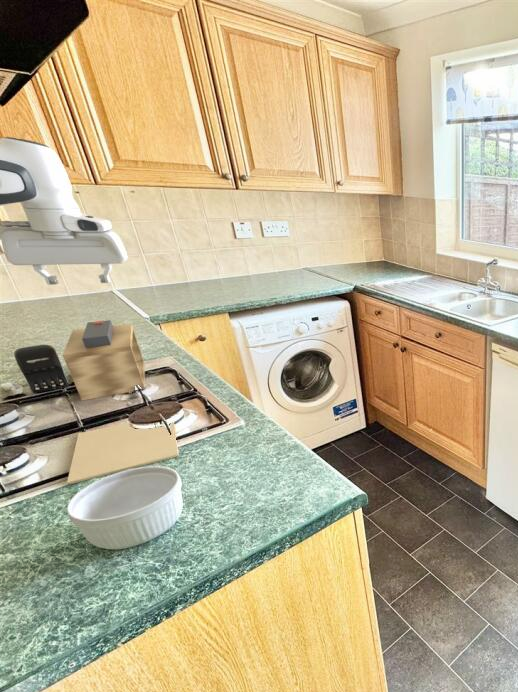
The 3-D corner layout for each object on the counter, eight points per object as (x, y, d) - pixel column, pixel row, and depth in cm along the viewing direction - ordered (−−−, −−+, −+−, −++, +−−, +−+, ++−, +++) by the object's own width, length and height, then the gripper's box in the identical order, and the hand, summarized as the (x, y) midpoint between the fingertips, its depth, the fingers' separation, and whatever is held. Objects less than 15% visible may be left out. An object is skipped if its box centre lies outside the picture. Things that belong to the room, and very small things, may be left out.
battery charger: (31, 395, 102) (10, 352, 98) (30, 390, 105) (10, 347, 100) (71, 388, 107) (53, 346, 102) (69, 383, 109) (52, 341, 105)
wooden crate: (81, 400, 102) (62, 354, 97) (89, 371, 116) (72, 330, 111) (145, 389, 109) (130, 346, 104) (144, 363, 123) (131, 323, 118)
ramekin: (195, 489, 76) (185, 457, 73) (184, 539, 65) (172, 505, 62) (98, 510, 70) (83, 477, 67) (69, 569, 59) (50, 532, 56)
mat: (67, 484, 75) (66, 482, 75) (79, 435, 89) (78, 433, 89) (178, 456, 84) (178, 454, 84) (173, 415, 98) (172, 413, 98)
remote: (85, 348, 101) (81, 337, 100) (90, 331, 111) (86, 321, 110) (111, 344, 104) (107, 334, 103) (113, 328, 114) (110, 319, 113)
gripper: (-17, 221, 87) (12, 288, 93) (111, 223, 96) (131, 284, 102) (-2, 219, 92) (25, 282, 98) (118, 221, 101) (137, 279, 107)
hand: (80, 283), depth 100 cm, fingers open, 8 cm apart
